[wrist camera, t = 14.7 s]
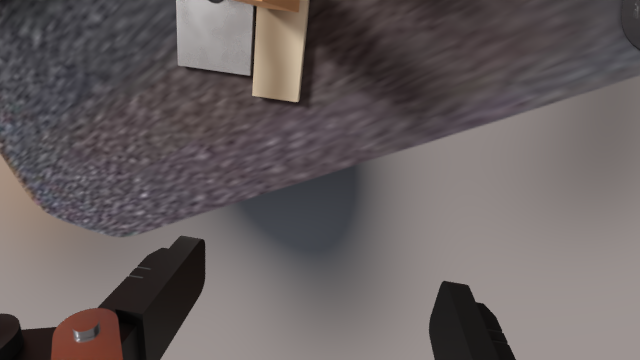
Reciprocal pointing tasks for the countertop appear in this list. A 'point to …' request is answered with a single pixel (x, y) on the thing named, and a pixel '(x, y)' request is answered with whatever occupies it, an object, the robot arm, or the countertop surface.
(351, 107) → the countertop surface
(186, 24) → the bolt plate
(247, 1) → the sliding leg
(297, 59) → the rail
